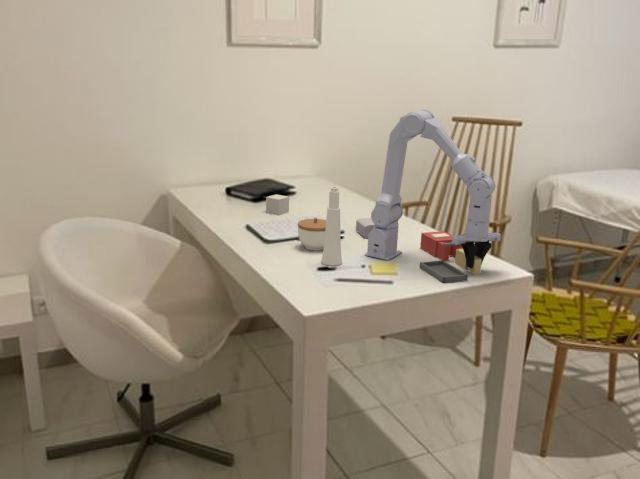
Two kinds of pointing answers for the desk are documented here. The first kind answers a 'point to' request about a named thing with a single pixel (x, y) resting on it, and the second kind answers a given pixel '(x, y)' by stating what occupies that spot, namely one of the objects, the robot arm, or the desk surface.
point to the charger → (364, 226)
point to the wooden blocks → (461, 262)
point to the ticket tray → (443, 271)
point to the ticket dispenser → (439, 244)
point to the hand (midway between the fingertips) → (473, 266)
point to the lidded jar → (312, 233)
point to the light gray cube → (277, 204)
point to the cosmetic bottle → (332, 231)
